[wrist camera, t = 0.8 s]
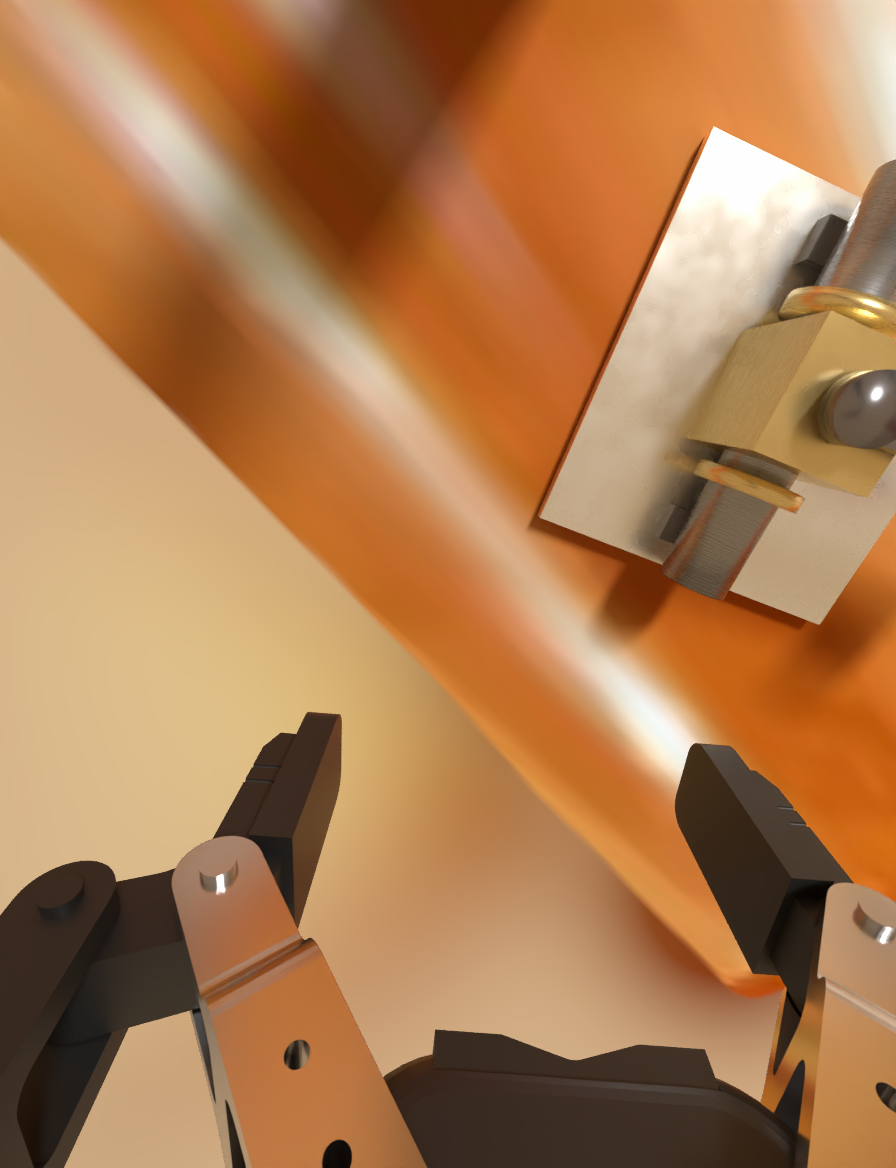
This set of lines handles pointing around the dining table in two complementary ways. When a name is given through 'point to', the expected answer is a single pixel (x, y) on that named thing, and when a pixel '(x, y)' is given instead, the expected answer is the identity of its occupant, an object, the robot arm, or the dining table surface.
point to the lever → (861, 411)
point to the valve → (744, 387)
